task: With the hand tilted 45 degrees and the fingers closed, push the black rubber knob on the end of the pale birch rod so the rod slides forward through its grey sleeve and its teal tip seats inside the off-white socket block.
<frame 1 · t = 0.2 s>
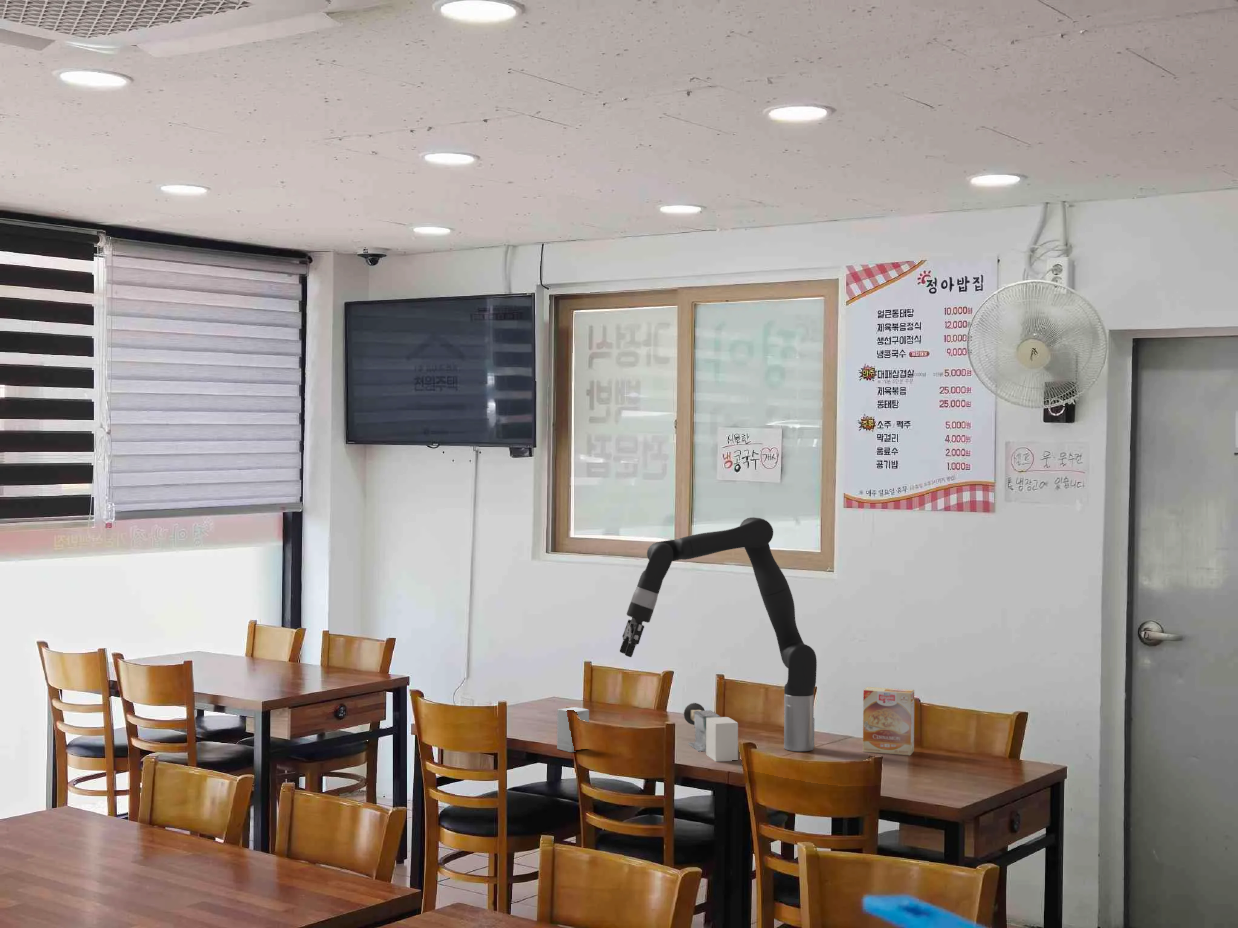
hand: (625, 654, 421), 31 cm above the table, tool tilted 20°, fingers open, 8 cm apart
socket: (721, 757, 419), on the table
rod: (704, 719, 438), point 8 cm above the table, slide at 0.0 cm
coffeecake box: (888, 752, 429), on the table
trestle: (706, 747, 434), on the table
supplement box: (572, 749, 430), on the table
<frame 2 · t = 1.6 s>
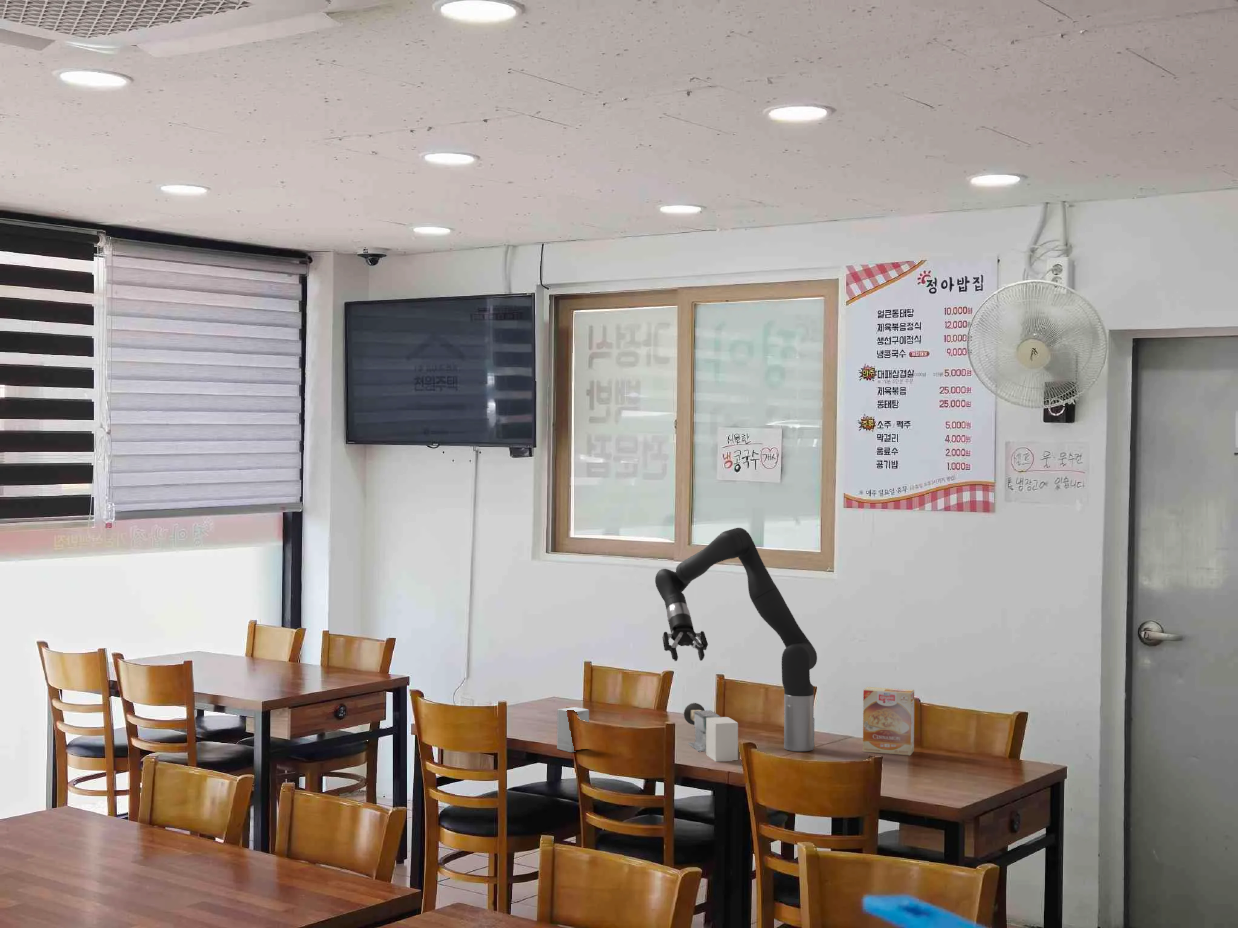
hand: (689, 659, 442), 27 cm above the table, tool tilted 45°, fingers open, 8 cm apart
nothing on the table moved.
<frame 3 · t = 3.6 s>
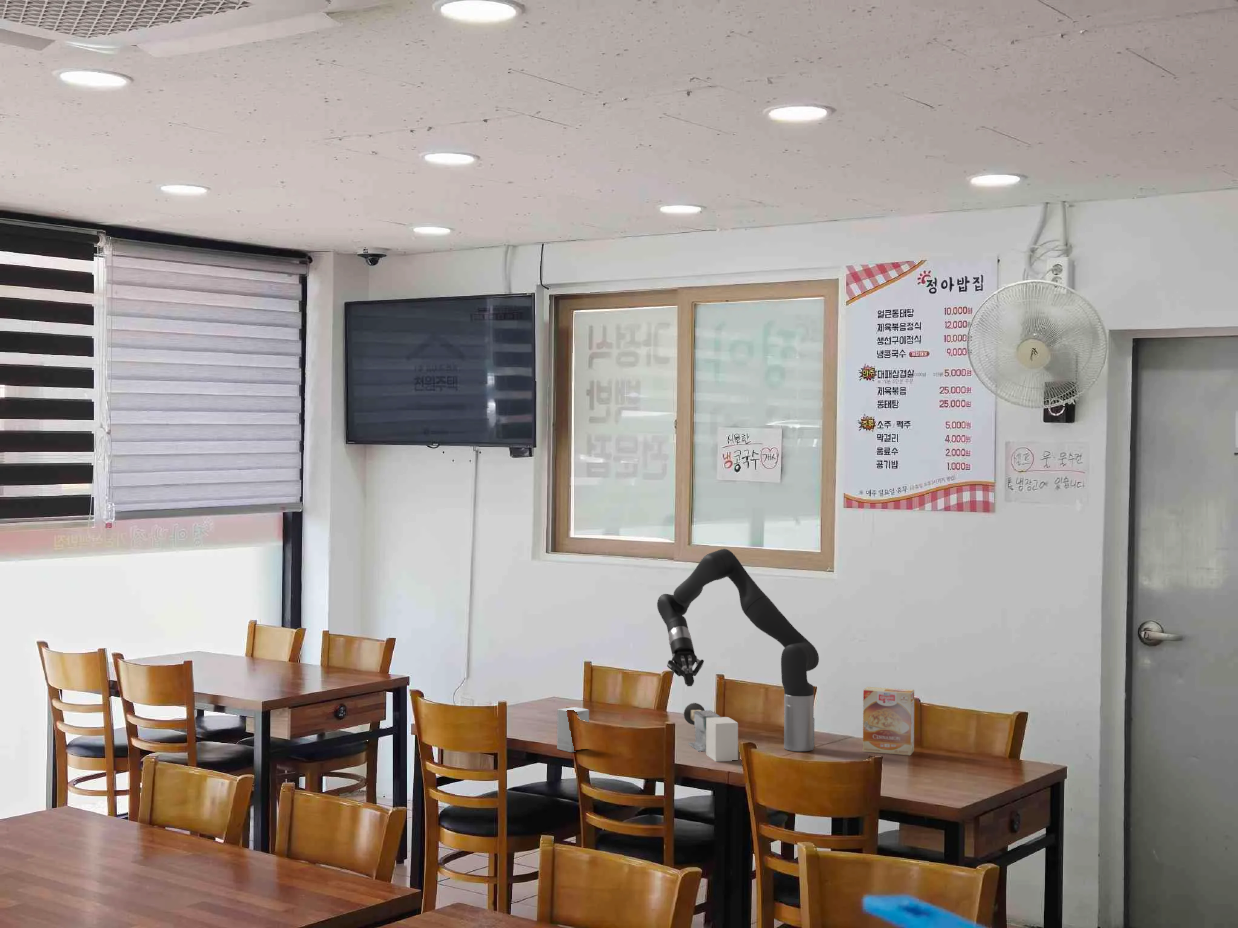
hand: (690, 684, 453), 17 cm above the table, tool tilted 45°, fingers closed
nothing on the table moved.
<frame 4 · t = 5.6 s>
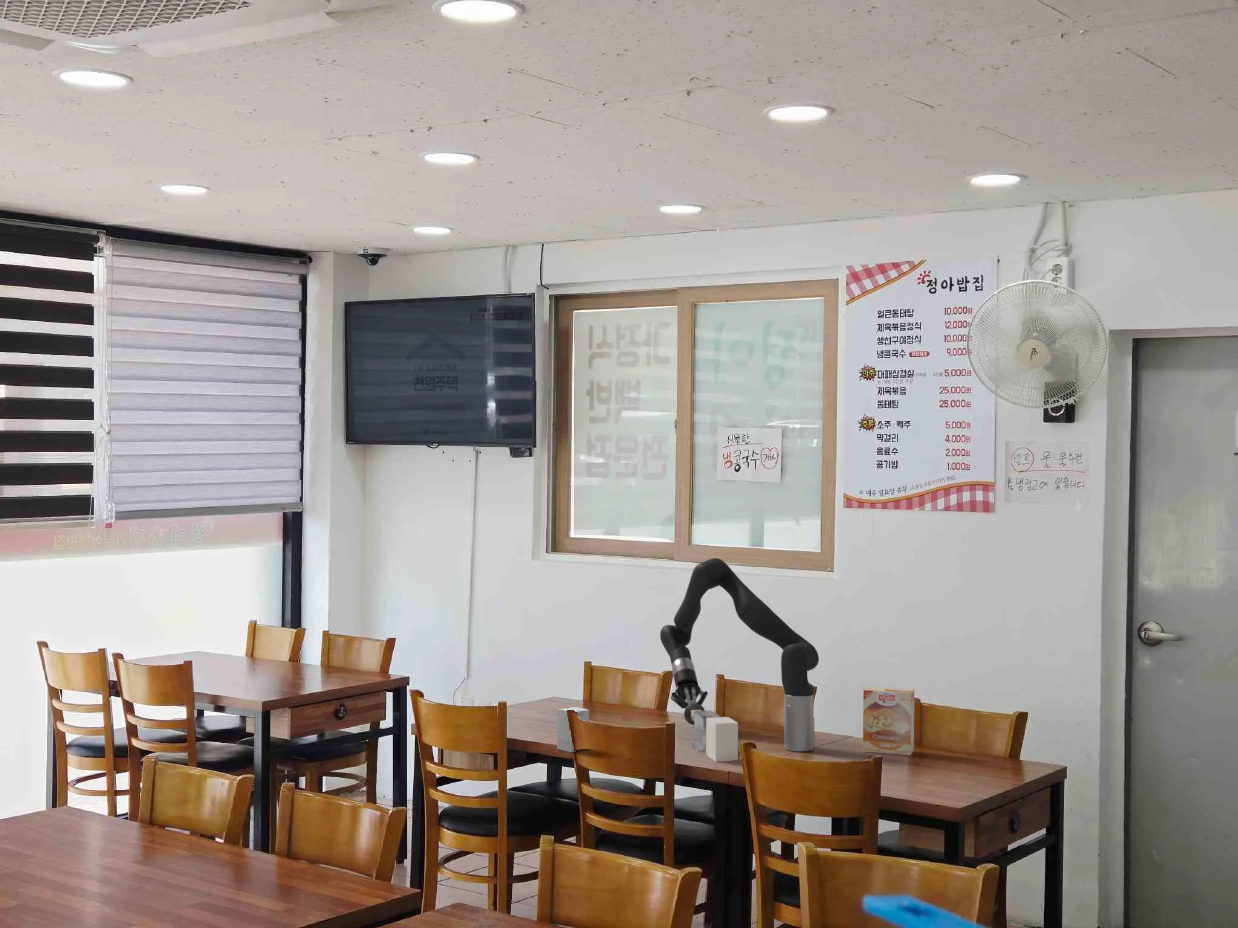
hand: (694, 717, 450), 7 cm above the table, tool tilted 45°, fingers closed
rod: (704, 719, 438), point 8 cm above the table, slide at 0.2 cm, touching gripper
everything else where it was.
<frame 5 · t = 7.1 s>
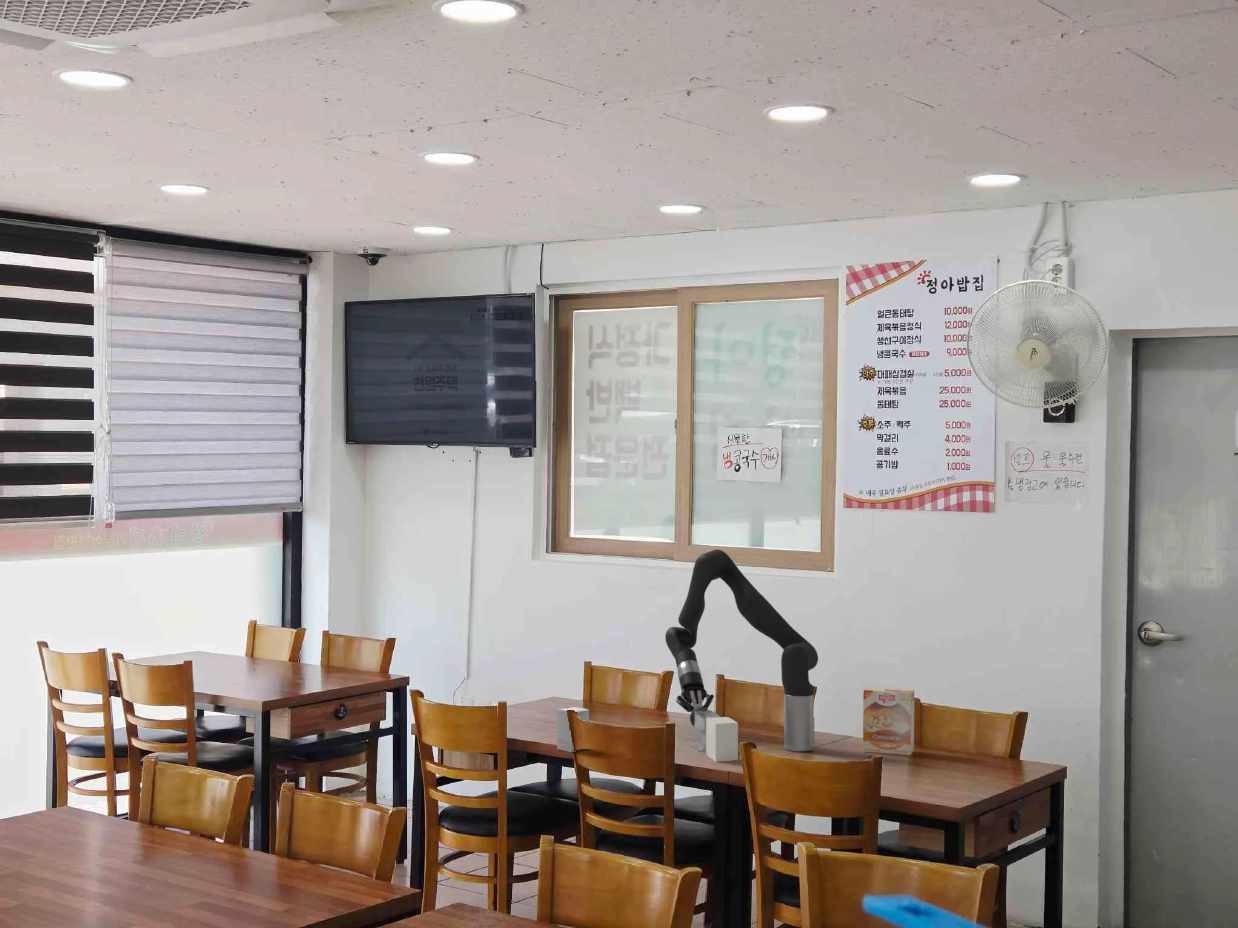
hand: (700, 721, 443), 7 cm above the table, tool tilted 45°, fingers closed
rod: (710, 723, 431), point 8 cm above the table, slide at 7.3 cm, touching gripper
everything else where it was.
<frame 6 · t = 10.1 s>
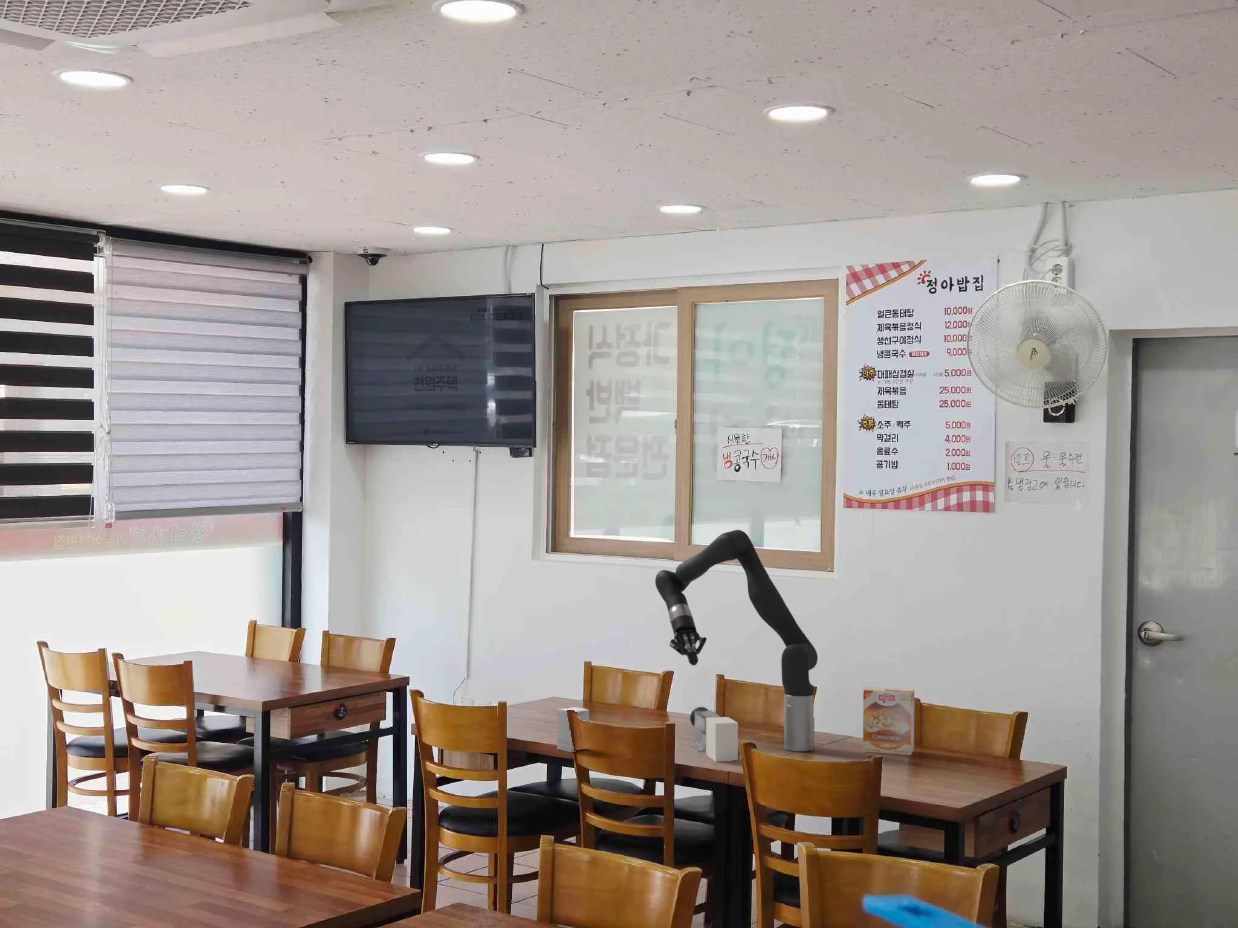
hand: (694, 663, 445), 25 cm above the table, tool tilted 45°, fingers closed
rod: (710, 724, 431), point 8 cm above the table, slide at 7.5 cm
everything else where it was.
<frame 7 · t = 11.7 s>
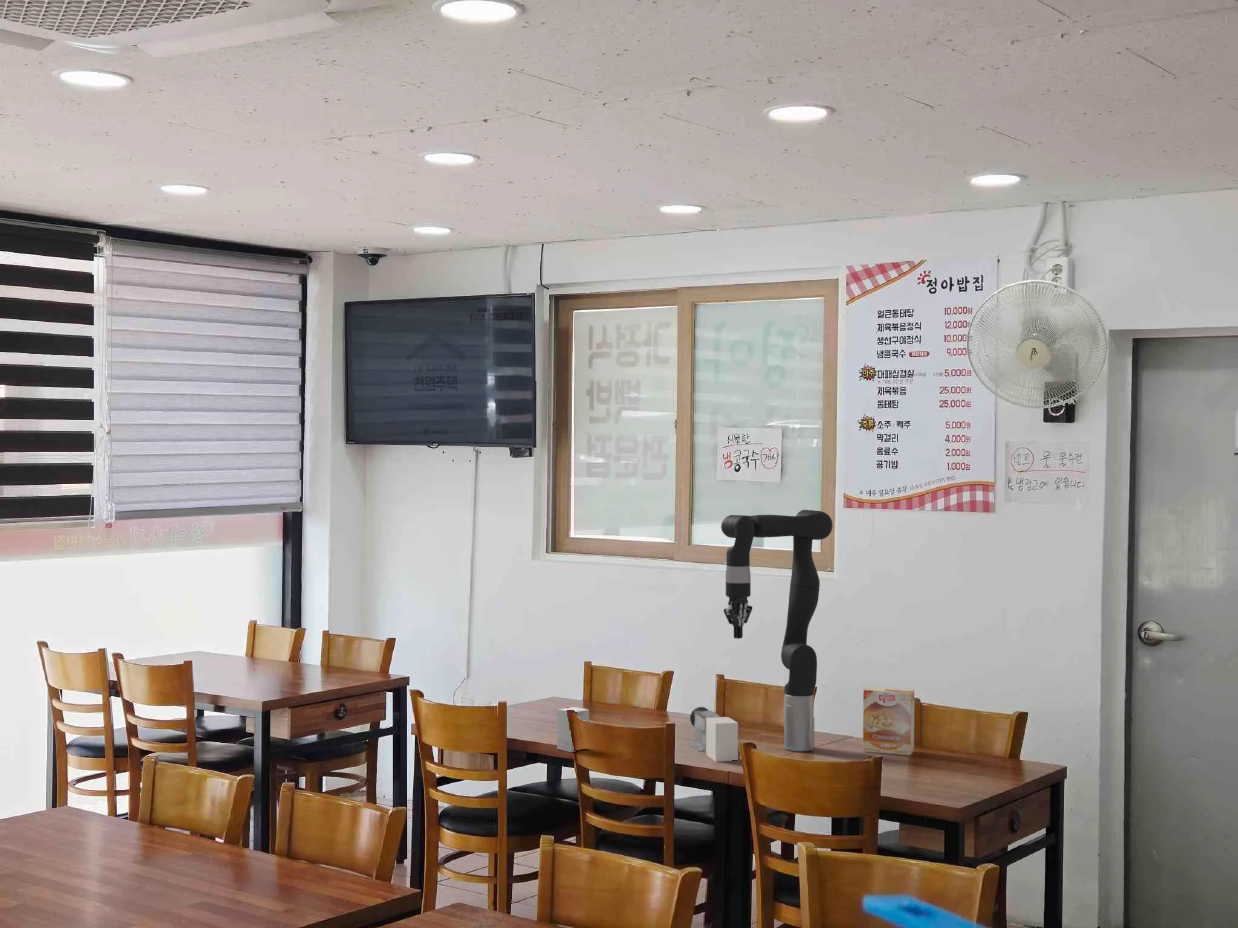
hand: (738, 638, 416), 37 cm above the table, tool pointing down, fingers closed
nothing on the table moved.
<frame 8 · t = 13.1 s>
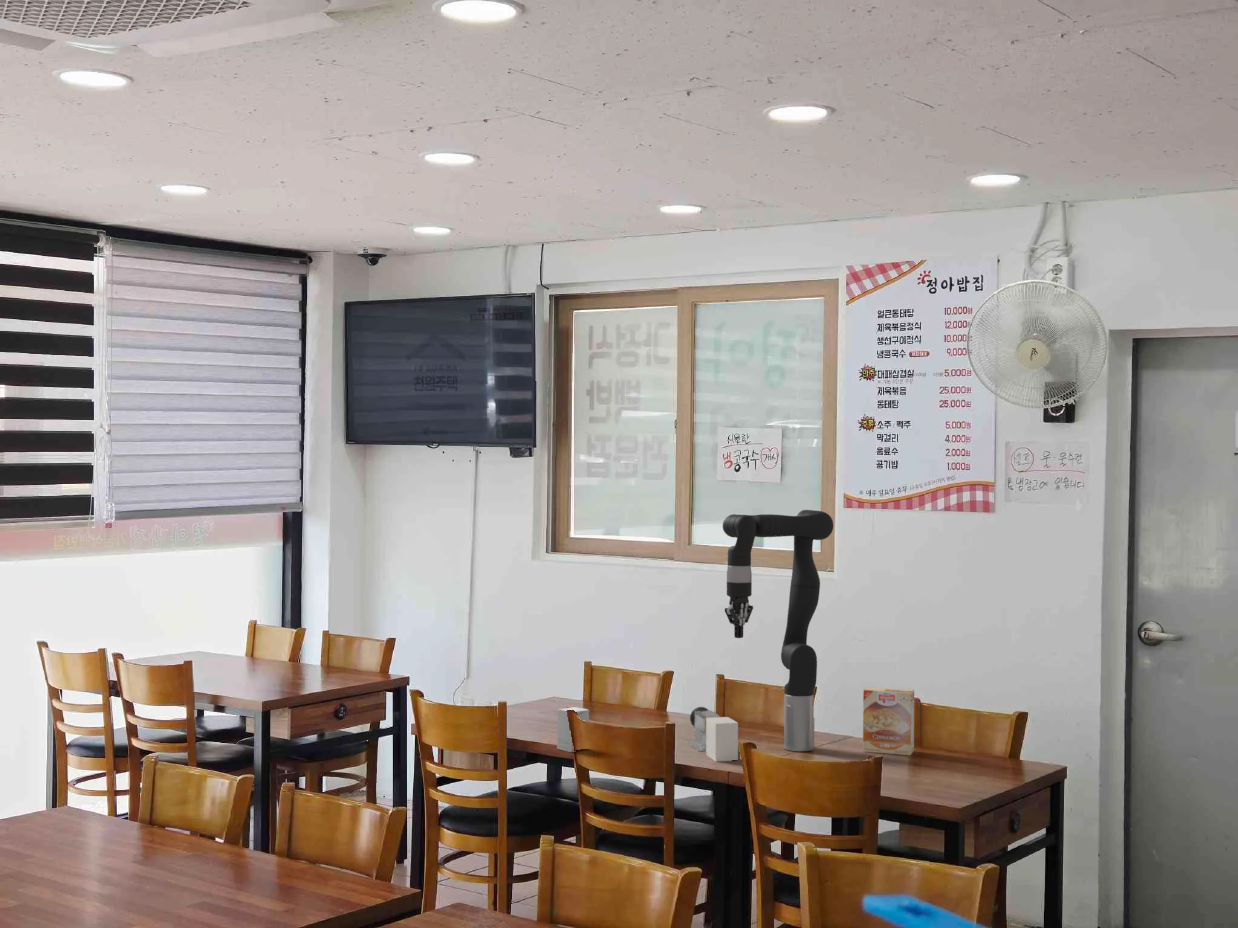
hand: (738, 637, 416), 37 cm above the table, tool pointing down, fingers closed
nothing on the table moved.
at the end: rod slide at 7.5 cm; the gripper is holding nothing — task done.
